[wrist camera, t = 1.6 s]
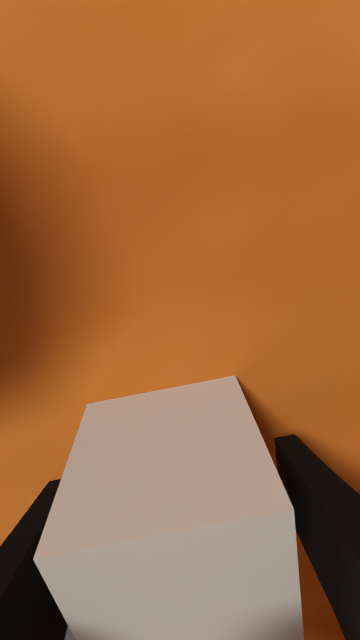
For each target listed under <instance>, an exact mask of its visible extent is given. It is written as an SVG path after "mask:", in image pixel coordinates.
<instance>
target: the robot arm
mask: <svg viewBox="0 0 360 640" xmlns="http://www.w3.org/2000/svg"><path fill="white" fill-rule="evenodd" d="M275 447H276V458H277V468H278V474H279V476H280V479H281V481H282V483H283V485H284V488H285V490H286V492H287V495H288V497H289V499H290V501H291V504H292V506H293V508H294V516H295V529H296V532H297V534H298V536H299V538H300V540H301V542H302V544H303V547H304V549H305V551H306V553H307V555H308V557H309V559H310V561H311V564H312V566H313V568H314V570H315V572H316V574H317V576H318V578H319V581H320V583H321V585H322V587H323V589H324V591H325V593H326V595H327V598H328V600H329V602H330V604H331V606H332V608H333V611H334V613H335V615H336V618H337V620H338V622H339V624H340V627H341V629H342V632H343V634H344V637H345V640H360V494H358V493H357V492H356V491H355V490H354V489H353V488H351V487H350V486H349V485H348V484H347V483H346V482H344V481H343V480H342V479H341V478H340V477H339V476H338V475H336V474H335V473H334V472H333V471H332V470H331V469H330V468H329V467H328V466H327V465H326V464H324V463H323V462H322V461H321V460H320V459H319V458H318V457H317V456H316V455H315V454H314V453H313V452H312V451H311V450H310V449H309V448H308V447H307V446H306V445H305V444H304V443H303V442H302V441H301V440H300V439H299V438H298V437H297V436H295V435H289V436H284V437H279V438H275ZM60 481H61V479H58V480H53V481H49V483H48V484H47V485H46V487H45V488H44V489H43V490H42V492H41V493H40V494H39V496H38V497H37V498H36V500H35V501H34V502H33V504H32V505H31V507H30V508H29V509H28V511H27V512H26V513H25V515H24V516H23V517H22V519H21V520H20V521H19V523H18V524H17V525H16V527H15V528H14V529H13V530H12V532H11V533H10V534H9V536H8V537H7V538H6V540H5V541H4V542H3V544H2V545H1V546H0V640H65V636H66V631H67V627H68V625H67V623H66V621H65V619H64V617H63V615H62V613H61V611H60V609H59V607H58V606H57V604H56V602H55V600H54V598H53V596H52V594H51V592H50V590H49V589H48V587H47V585H46V583H45V581H44V579H43V577H42V575H41V573H40V572H39V570H38V568H37V566H36V564H35V562H34V560H33V558H34V555H35V552H36V550H37V547H38V544H39V541H40V538H41V535H42V532H43V530H44V527H45V524H46V521H47V518H48V515H49V512H50V509H51V507H52V504H53V501H54V498H55V495H56V492H57V489H58V487H59V484H60Z"/></svg>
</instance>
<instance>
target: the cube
mask: <svg viewBox="0 0 360 640" xmlns="http://www.w3.org/2000/svg"><path fill="white" fill-rule="evenodd" d="M33 560H34V562H35V564H36V566H37V568H38V570H39V572H40V573H41V575H42V577H43V579H44V581H45V583H46V585H47V587H48V589H49V590H50V592H51V594H52V596H53V598H54V600H55V602H56V604H57V606H58V607H59V609H60V611H61V613H62V615H63V617H64V619H65V621H66V623H67V625H68V626H69V628H70V630H71V632H72V634H73V636H74V638H75V640H304V632H303V619H302V606H301V593H300V581H299V568H298V555H297V542H296V529H295V516H294V508H293V506H292V504H291V501H290V499H289V497H288V495H287V492H286V490H285V488H284V485H283V483H282V481H281V479H280V476H279V474H278V472H277V469H276V467H275V465H274V463H273V460H272V458H271V456H270V454H269V451H268V449H267V447H266V444H265V442H264V440H263V438H262V435H261V433H260V431H259V428H258V426H257V424H256V422H255V419H254V417H253V415H252V413H251V410H250V408H249V406H248V403H247V401H246V399H245V397H244V394H243V392H242V390H241V387H240V385H239V383H238V381H237V378H236V376H231V377H225V378H220V379H215V380H210V381H205V382H199V383H194V384H189V385H184V386H179V387H173V388H168V389H163V390H158V391H153V392H147V393H142V394H137V395H132V396H127V397H121V398H116V399H111V400H106V401H101V402H95V403H90V404H87V406H86V409H85V412H84V415H83V418H82V421H81V423H80V426H79V429H78V432H77V435H76V438H75V441H74V443H73V446H72V449H71V452H70V455H69V458H68V461H67V464H66V466H65V469H64V472H63V475H62V478H61V481H60V484H59V487H58V489H57V492H56V495H55V498H54V501H53V504H52V507H51V509H50V512H49V515H48V518H47V521H46V524H45V527H44V530H43V532H42V535H41V538H40V541H39V544H38V547H37V550H36V552H35V555H34V558H33Z"/></svg>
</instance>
